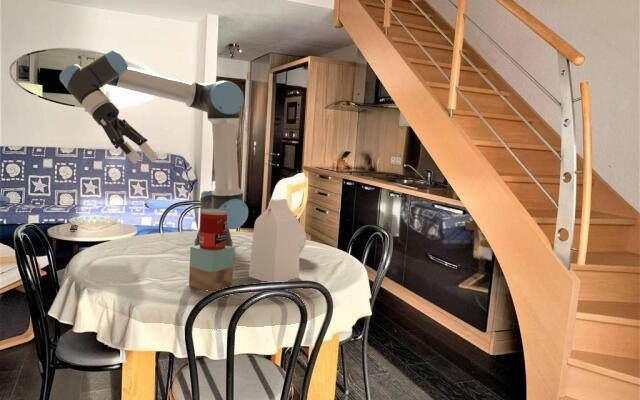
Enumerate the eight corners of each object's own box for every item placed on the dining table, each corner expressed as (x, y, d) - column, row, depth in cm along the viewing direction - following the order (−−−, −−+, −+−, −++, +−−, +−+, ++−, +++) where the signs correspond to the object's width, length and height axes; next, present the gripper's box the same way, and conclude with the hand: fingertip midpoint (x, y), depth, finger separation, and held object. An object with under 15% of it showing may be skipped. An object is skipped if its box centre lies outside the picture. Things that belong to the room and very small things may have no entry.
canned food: (219, 251, 140) (221, 213, 139) (194, 247, 142) (195, 210, 140) (229, 246, 147) (231, 210, 146) (205, 243, 149) (207, 207, 148)
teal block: (211, 261, 151) (212, 242, 151) (233, 266, 147) (234, 247, 146) (189, 266, 144) (190, 246, 143) (212, 272, 139) (213, 252, 138)
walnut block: (210, 279, 152) (211, 261, 151) (232, 285, 147) (232, 266, 147) (188, 285, 145) (189, 266, 144) (210, 292, 140) (211, 272, 139)
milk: (274, 270, 168) (278, 196, 164) (299, 278, 160) (304, 200, 157) (248, 276, 158) (252, 197, 155) (273, 284, 151) (278, 202, 148)
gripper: (112, 119, 164) (154, 166, 165) (70, 114, 139) (120, 170, 140) (127, 104, 163) (169, 151, 164) (88, 97, 138) (138, 153, 140)
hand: (147, 160), depth 152 cm, fingers open, 13 cm apart
